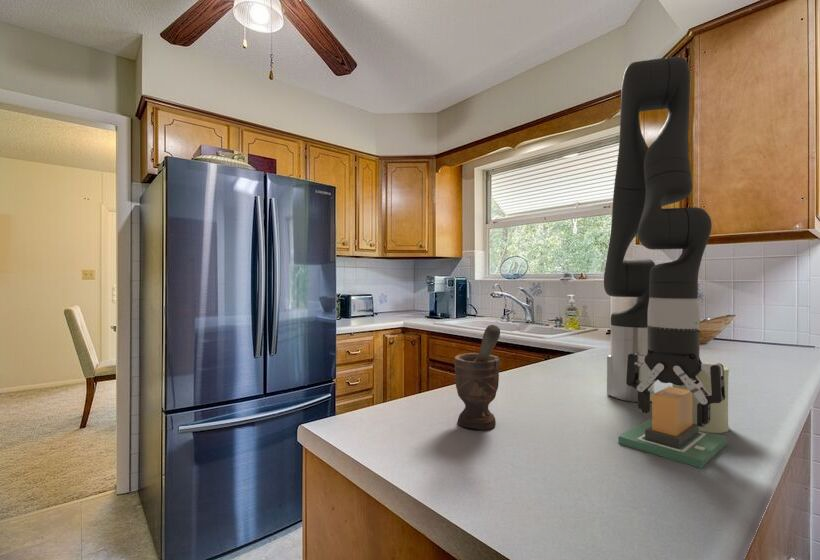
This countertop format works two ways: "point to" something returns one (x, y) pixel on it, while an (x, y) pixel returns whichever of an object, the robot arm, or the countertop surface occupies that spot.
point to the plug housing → (671, 410)
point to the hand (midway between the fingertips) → (672, 418)
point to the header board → (672, 454)
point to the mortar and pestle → (478, 382)
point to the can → (717, 409)
